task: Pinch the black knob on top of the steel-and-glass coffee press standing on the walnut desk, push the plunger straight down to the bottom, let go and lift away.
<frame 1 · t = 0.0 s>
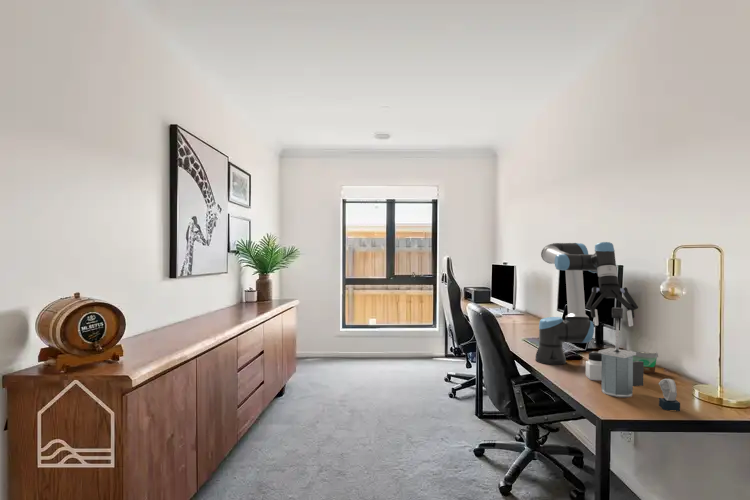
hand: (613, 325, 184), 28 cm above the table, tool tilted 20°, fingers open, 13 cm apart
plunger: (617, 336, 182), point 24 cm above the table, slide at 0.0 cm
press: (616, 393, 182), on the table
food container: (645, 372, 214), on the table
watch: (669, 409, 165), on the table
medicine bottle: (595, 378, 203), on the table
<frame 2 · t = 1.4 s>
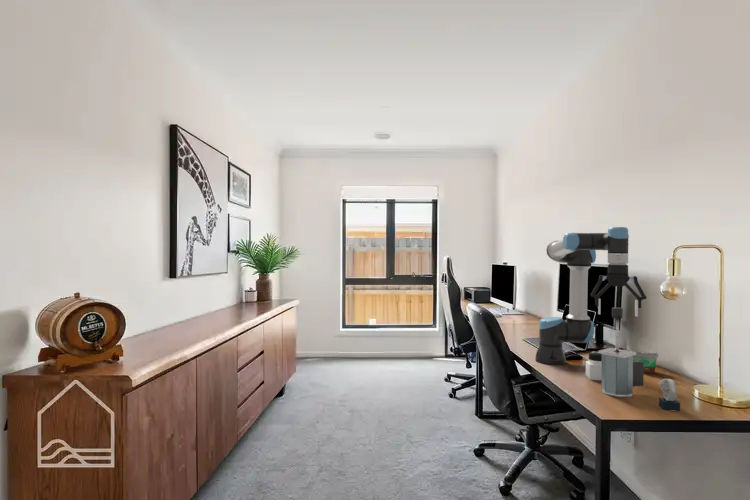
hand: (617, 315, 182), 33 cm above the table, tool pointing down, fingers open, 13 cm apart
nothing on the table moved.
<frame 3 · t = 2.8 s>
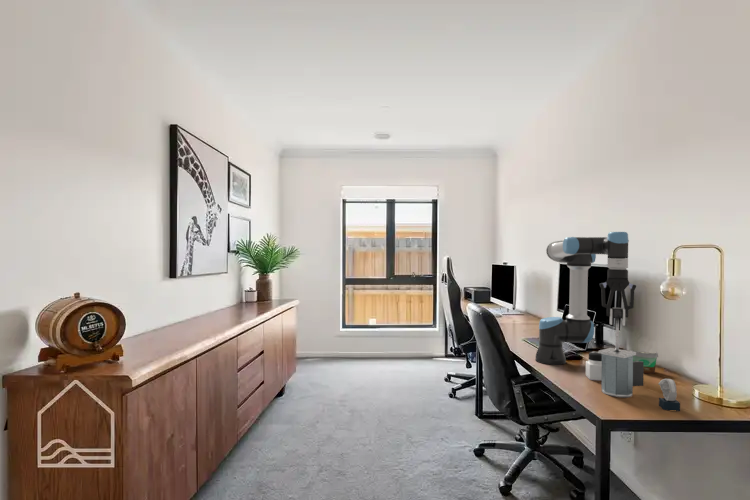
hand: (617, 324, 182), 29 cm above the table, tool pointing down, fingers closed on plunger, 4 cm apart
plunger: (617, 336, 182), point 24 cm above the table, slide at 0.0 cm, touching gripper
everything else where it was.
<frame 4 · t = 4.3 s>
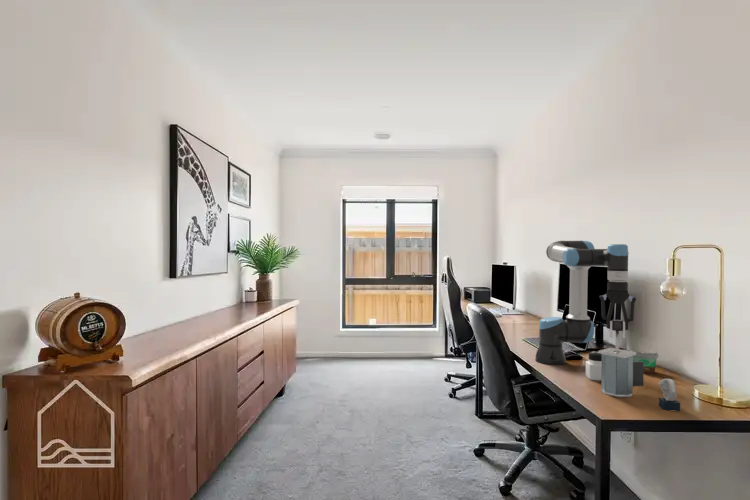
hand: (617, 337, 182), 23 cm above the table, tool pointing down, fingers closed on plunger, 4 cm apart
plunger: (617, 348, 182), point 19 cm above the table, slide at 5.2 cm, touching gripper
everything else where it was.
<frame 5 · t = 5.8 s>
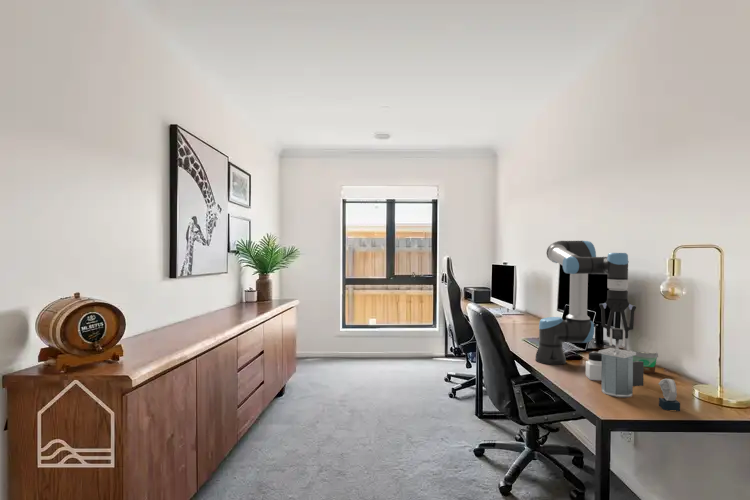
hand: (617, 345, 182), 20 cm above the table, tool pointing down, fingers closed on plunger, 4 cm apart
plunger: (617, 356, 182), point 15 cm above the table, slide at 8.7 cm, touching gripper
everything else where it was.
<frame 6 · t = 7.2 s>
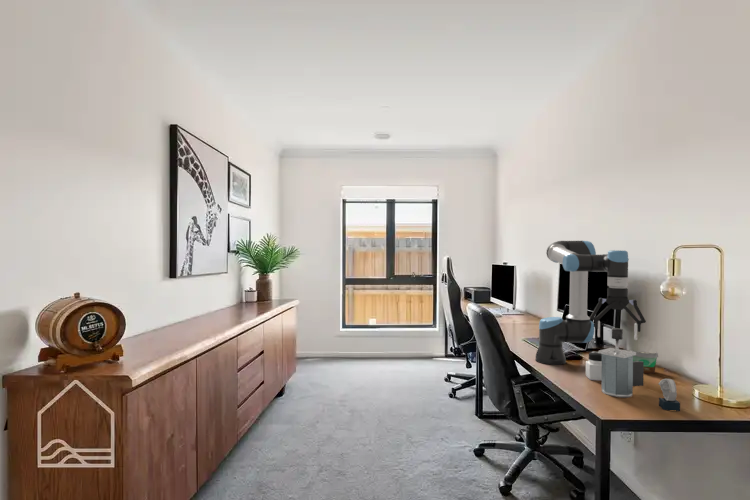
hand: (616, 338, 182), 23 cm above the table, tool pointing down, fingers open, 13 cm apart
plunger: (617, 356, 182), point 15 cm above the table, slide at 8.7 cm
everything else where it was.
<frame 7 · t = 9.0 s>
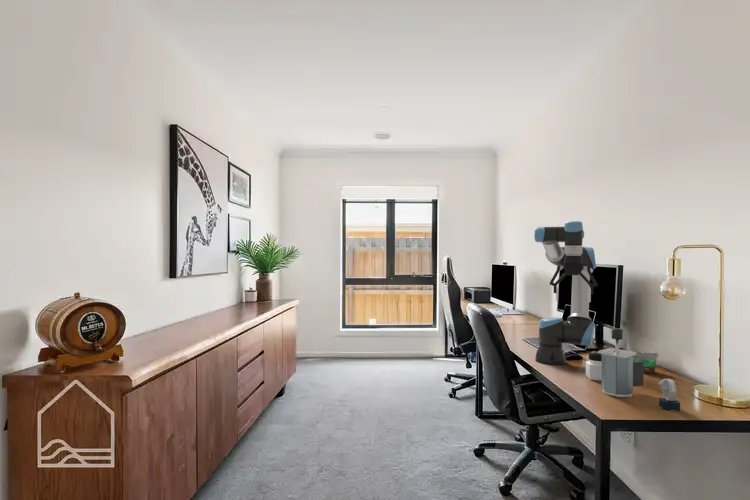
hand: (573, 301, 201), 36 cm above the table, tool pointing down, fingers open, 13 cm apart
nothing on the table moved.
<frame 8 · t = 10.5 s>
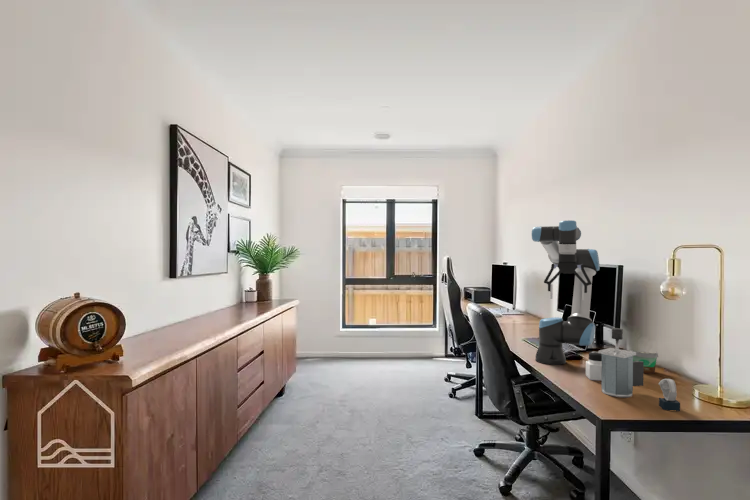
hand: (567, 299, 203), 37 cm above the table, tool pointing down, fingers open, 13 cm apart
nothing on the table moved.
at the end: plunger slide at 8.7 cm; the gripper is holding nothing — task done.
